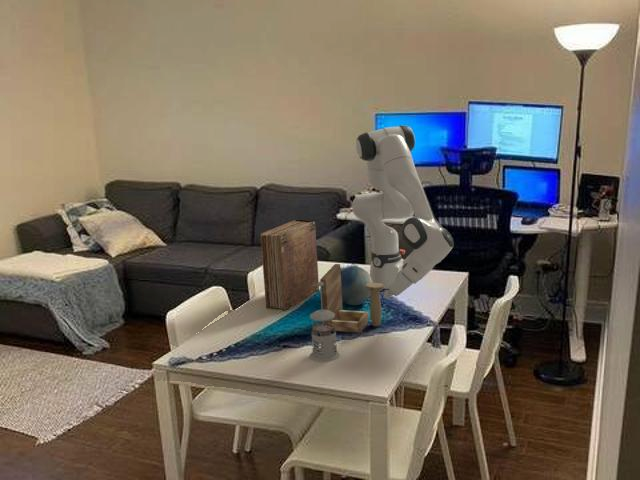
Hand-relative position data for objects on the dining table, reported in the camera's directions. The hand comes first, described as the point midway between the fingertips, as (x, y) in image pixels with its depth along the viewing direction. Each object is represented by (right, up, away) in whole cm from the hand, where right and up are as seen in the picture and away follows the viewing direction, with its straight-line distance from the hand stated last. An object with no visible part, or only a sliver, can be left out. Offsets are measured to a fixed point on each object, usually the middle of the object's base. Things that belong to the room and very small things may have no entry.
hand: (388, 292), depth 229 cm
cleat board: (-14, -12, +6) cm, 19 cm away
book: (-34, -6, +36) cm, 50 cm away
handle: (-4, -12, +5) cm, 13 cm away
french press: (-23, -19, -16) cm, 34 cm away
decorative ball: (-10, -7, +26) cm, 29 cm away
